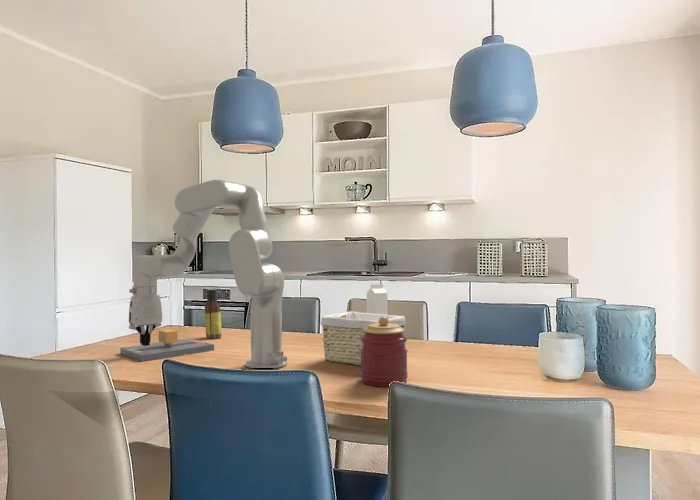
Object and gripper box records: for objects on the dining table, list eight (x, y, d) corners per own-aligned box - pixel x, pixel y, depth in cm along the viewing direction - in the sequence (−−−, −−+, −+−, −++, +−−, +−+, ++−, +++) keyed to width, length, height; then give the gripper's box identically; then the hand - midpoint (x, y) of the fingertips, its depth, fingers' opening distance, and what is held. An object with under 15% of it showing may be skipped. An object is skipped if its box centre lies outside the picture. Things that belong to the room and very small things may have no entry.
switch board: (214, 350, 186) (214, 344, 186) (142, 361, 168) (142, 355, 168) (189, 343, 199) (189, 338, 199) (120, 353, 180) (120, 347, 180)
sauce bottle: (223, 336, 214) (223, 288, 214) (218, 339, 208) (218, 289, 208) (208, 336, 215) (208, 288, 215) (202, 339, 209) (202, 289, 209)
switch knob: (177, 345, 182) (177, 330, 182) (166, 346, 180) (166, 332, 180) (169, 343, 187) (169, 329, 187) (158, 344, 184) (158, 330, 184)
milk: (366, 339, 207) (366, 284, 207) (379, 338, 210) (378, 283, 210) (375, 341, 201) (374, 284, 201) (388, 340, 205) (387, 284, 205)
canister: (404, 375, 149) (404, 313, 149) (411, 387, 136) (410, 319, 136) (359, 375, 148) (358, 313, 148) (361, 387, 135) (361, 320, 135)
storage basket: (318, 360, 169) (318, 315, 169) (349, 352, 182) (349, 310, 182) (379, 371, 154) (378, 321, 154) (408, 361, 167) (407, 315, 167)
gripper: (127, 293, 169) (127, 349, 170) (171, 290, 180) (171, 343, 180) (118, 292, 175) (118, 346, 175) (161, 289, 185) (161, 340, 185)
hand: (145, 345), depth 178 cm, fingers closed
